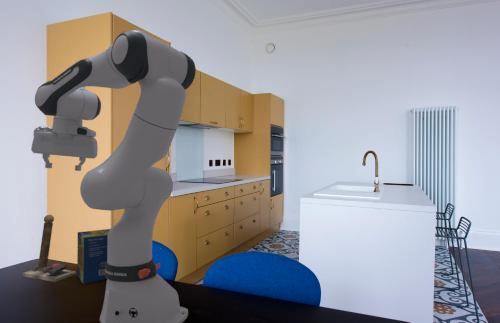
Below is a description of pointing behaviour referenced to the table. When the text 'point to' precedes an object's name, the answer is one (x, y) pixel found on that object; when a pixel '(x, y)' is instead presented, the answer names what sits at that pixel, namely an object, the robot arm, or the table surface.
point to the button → (55, 265)
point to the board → (46, 276)
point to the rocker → (57, 269)
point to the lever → (45, 242)
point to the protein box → (92, 255)
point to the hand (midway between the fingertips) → (63, 169)
